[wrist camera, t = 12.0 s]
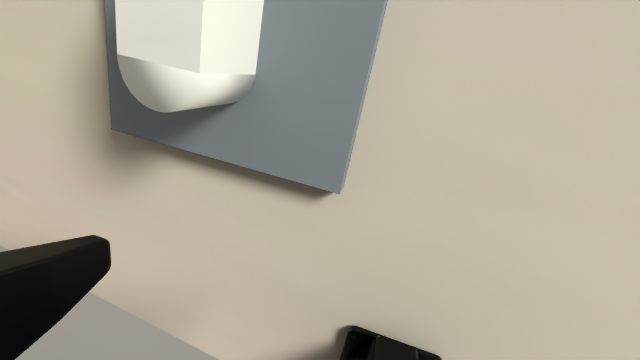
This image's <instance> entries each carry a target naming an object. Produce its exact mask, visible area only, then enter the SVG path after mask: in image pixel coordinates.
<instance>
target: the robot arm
mask: <svg viewBox="0 0 640 360" xmlns="http://www.w3.org/2000/svg"><path fill="white" fill-rule="evenodd" d="M110 267H111V253H110V243H109V241H108V240H107V239H105V238H102V237H99V236H96V235H90V236H85V237H79V238H74V239H69V240H63V241H58V242H53V243H47V244H42V245H37V246H31V247H26V248H21V249H15V250H10V251H5V252H0V360H15V359H16V358H17V357H18V356H19V355H20V354H22V353H23V352H24V351H25V350H26V349H28V348H29V347H30V346H31V345H32V344H33V343H34V342H35V341H37V340H38V339H39V338H40V337H41V336H43V334H45V333H46V332H47V331H48V330H50V329H51V328H52V327H53V326H54V325H55V324H56V323H57V322H58V321H60V320H61V319H62V318H63V317H64V316H65V315H66V314H67V313H68V312H69V311H70V310H71V309H72V308H73V307H74V306H75V305H76V304H77V303H78V302H79V301H80V300H81V299H82V298H83V297H84V296H85V295H86V294H87V293H88V292H89V291H90V290H91V289H92V288H93V287H94V286H95V285H96V284H97V283H98V282H99V281H100V280H101V279H102V278H103V277H104V276H105V275H106V274H107V272H108V271H109V269H110ZM353 333H356V334H357V335H356V334H353ZM340 360H442V359H441V358H440V357H439V356H437V355H435V354H432V353H429V352H427V351H424V350H421V349H418V348H416V347H413V346H410V345H407V344H405V343H402V342H399V341H396V340H394V339H391V338H388V337H385V336H382V335H380V334H377V333H374V332H371V331H369V330H366V329H363V328H360V327H358V326H352V327H350V328H349V331H348V334H347V337H346V341H345V344H344V347H343V351H342V354H341V357H340Z"/></svg>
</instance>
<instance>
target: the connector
mask: <svg viewBox="0 0 640 360" xmlns="http://www.w3.org/2000/svg"><path fill="white" fill-rule="evenodd" d="M263 5H264V0H115V13H116V39H117V58H118V65H119V69H120V72H121V75H122V78H123V80H124V82H125V84H126V86H127V87H128V89H129V91H130V92H131V93H132V94H133V96H134V97H135V98H136V99H137V100H138V101H139V102H141V103H142V104H143V105H145V106H146V107H148V108H150V109H152V110H155V111H158V112H175V111H182V110H189V109H195V108H202V107H209V106H216V105H223V104H230V103H235V102H237V101H239V100H241V99H243V98H244V97H245V96H246V95H247V94H248V93H249V91H250V90H251V88H252V86H253V83H254V80H255V74H256V66H257V57H258V48H259V39H260V31H261V22H262V13H263Z"/></svg>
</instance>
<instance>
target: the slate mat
mask: <svg viewBox="0 0 640 360" xmlns="http://www.w3.org/2000/svg"><path fill="white" fill-rule="evenodd" d="M104 1H105V19H106V38H107V56H108V74H109V92H110V110H111V129H112V130H116V131H119V132H123V133H126V134H130V135H133V136H137V137H140V138H144V139H147V140H151V141H154V142H158V143H161V144H165V145H168V146H172V147H175V148H179V149H182V150H186V151H189V152H193V153H196V154H200V155H203V156H207V157H211V158H214V159H218V160H221V161H225V162H228V163H232V164H235V165H239V166H242V167H246V168H249V169H253V170H256V171H260V172H263V173H267V174H270V175H274V176H277V177H281V178H284V179H288V180H291V181H295V182H298V183H302V184H305V185H309V186H312V187H316V188H319V189H323V190H326V191H330V192H333V193H337V194H340V192H341V191H342V189H343V187H344V182H345V178H346V174H347V170H348V165H349V161H350V157H351V153H352V149H353V144H354V140H355V136H356V132H357V127H358V123H359V119H360V115H361V111H362V106H363V102H364V98H365V94H366V90H367V85H368V81H369V77H370V73H371V68H372V64H373V60H374V56H375V52H376V47H377V43H378V39H379V35H380V31H381V26H382V22H383V18H384V14H385V9H386V5H387V1H388V0H264V5H263V13H262V22H261V31H260V39H259V48H258V57H257V66H256V74H255V80H254V83H253V86H252V88H251V90H250V91H249V93H248V94H247V95H246V96H245V97H244V98H243V99H241V100H239V101H237V102H235V103H230V104H223V105H216V106H209V107H202V108H195V109H189V110H182V111H175V112H158V111H155V110H152V109H150V108H148V107H146V106H145V105H143V104H142V103H141V102H139V101H138V100H137V99H136V98H135V97H134V96H133V94H132V93H131V92H130V91H129V89H128V87H127V86H126V84H125V82H124V80H123V78H122V75H121V72H120V69H119V65H118V58H117V39H116V13H115V0H104Z"/></svg>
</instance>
